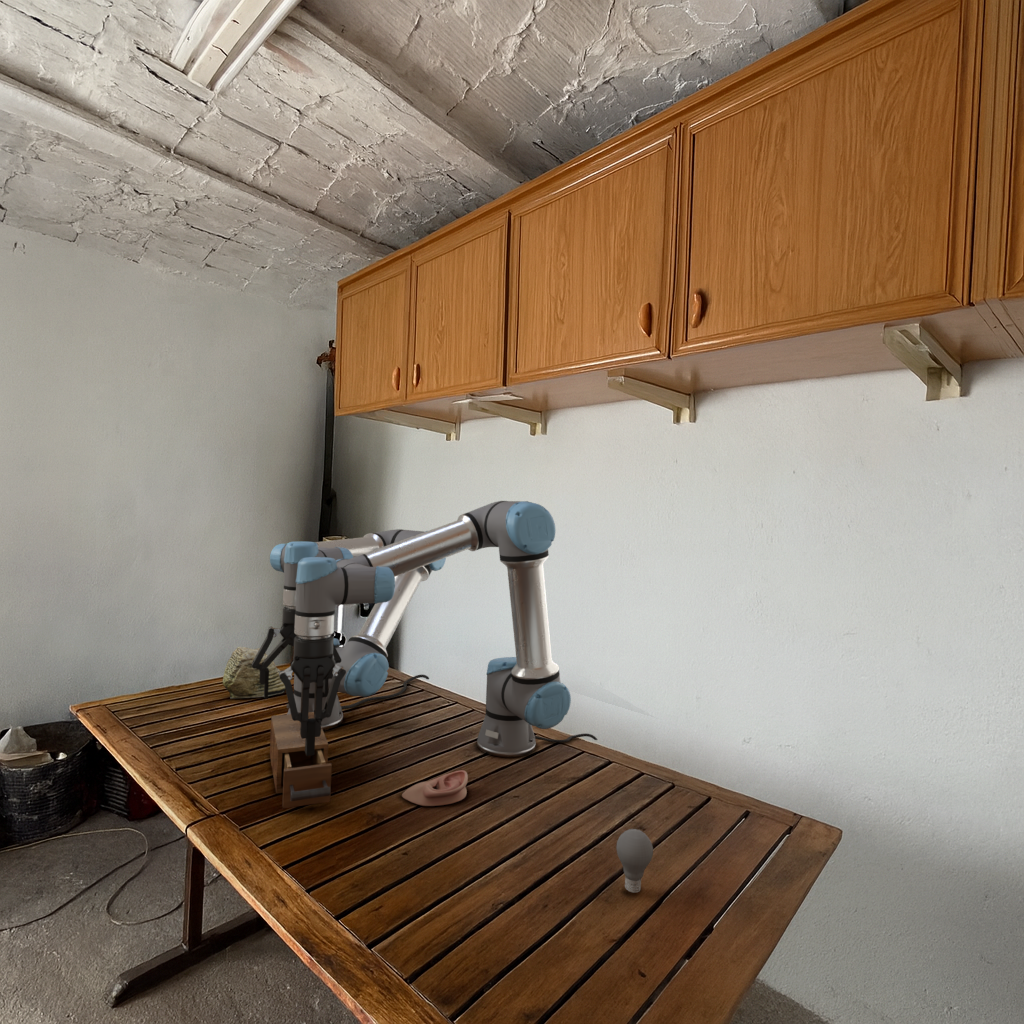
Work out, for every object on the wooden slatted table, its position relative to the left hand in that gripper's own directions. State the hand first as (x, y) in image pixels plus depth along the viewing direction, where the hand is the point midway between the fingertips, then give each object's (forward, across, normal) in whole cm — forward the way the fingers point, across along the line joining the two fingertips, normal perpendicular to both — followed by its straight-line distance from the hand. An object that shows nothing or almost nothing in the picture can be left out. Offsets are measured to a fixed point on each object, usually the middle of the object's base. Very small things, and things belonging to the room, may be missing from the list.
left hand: (296, 694), depth 152 cm
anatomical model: (+16, +26, -29) cm, 42 cm away
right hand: (+3, 0, -28) cm, 28 cm away
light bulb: (+16, +47, -72) cm, 88 cm away
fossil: (+16, -7, +53) cm, 56 cm away
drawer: (+15, 0, -19) cm, 24 cm away
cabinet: (+16, 0, -7) cm, 17 cm away
